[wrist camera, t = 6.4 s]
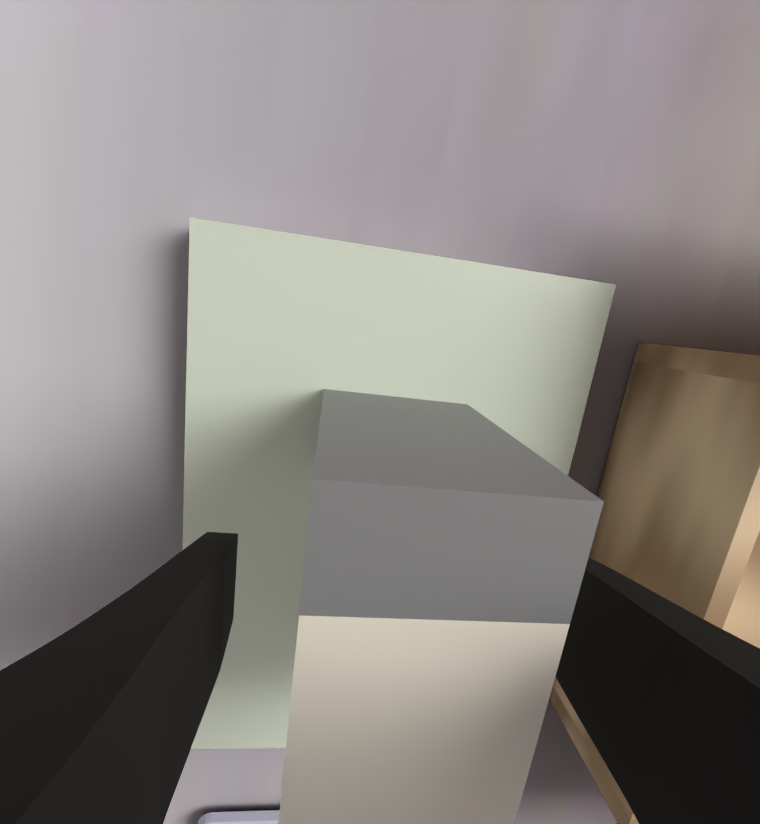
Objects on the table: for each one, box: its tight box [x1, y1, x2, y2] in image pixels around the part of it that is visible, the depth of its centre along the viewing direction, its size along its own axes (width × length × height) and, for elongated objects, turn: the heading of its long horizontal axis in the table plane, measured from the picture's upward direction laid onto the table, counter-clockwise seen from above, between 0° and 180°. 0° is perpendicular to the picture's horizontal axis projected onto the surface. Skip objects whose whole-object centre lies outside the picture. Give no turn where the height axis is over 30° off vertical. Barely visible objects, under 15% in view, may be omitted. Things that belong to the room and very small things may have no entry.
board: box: [182, 217, 616, 749], centre depth 13 cm, size 16×11×1 cm
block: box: [278, 389, 604, 824], centre depth 9 cm, size 8×4×6 cm, turn 173°
